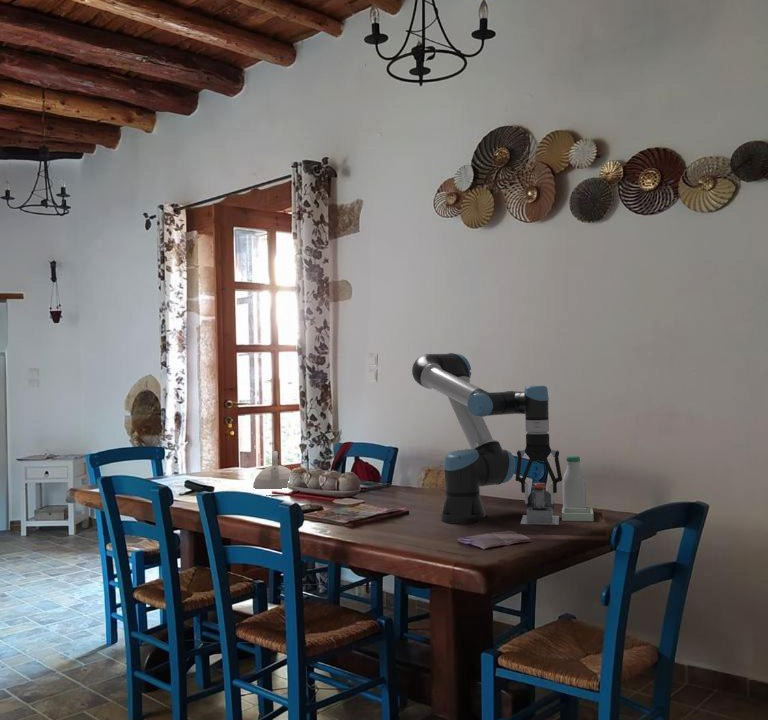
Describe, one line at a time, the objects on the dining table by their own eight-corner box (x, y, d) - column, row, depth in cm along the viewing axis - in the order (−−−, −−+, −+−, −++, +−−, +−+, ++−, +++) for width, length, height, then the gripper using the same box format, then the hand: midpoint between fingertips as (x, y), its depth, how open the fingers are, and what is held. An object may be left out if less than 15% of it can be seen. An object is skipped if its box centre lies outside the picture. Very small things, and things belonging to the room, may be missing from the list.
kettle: (250, 497, 334) (249, 454, 335) (254, 489, 355) (253, 449, 355) (299, 495, 336) (298, 452, 336) (300, 488, 357) (299, 447, 357)
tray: (562, 524, 261) (561, 513, 261) (562, 518, 271) (562, 507, 271) (593, 524, 259) (593, 513, 259) (592, 519, 268) (592, 508, 268)
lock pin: (533, 522, 259) (532, 484, 259) (533, 519, 263) (532, 482, 264) (546, 522, 258) (545, 484, 259) (546, 520, 262) (545, 482, 263)
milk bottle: (586, 516, 273) (584, 457, 273) (563, 516, 275) (561, 457, 275) (585, 512, 281) (583, 455, 281) (563, 512, 282) (561, 455, 283)
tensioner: (520, 527, 257) (519, 495, 257) (523, 518, 272) (522, 488, 272) (558, 528, 255) (557, 496, 255) (559, 519, 269) (558, 488, 269)
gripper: (505, 434, 260) (506, 504, 260) (569, 433, 255) (571, 505, 255) (506, 432, 267) (508, 500, 267) (569, 431, 263) (571, 501, 262)
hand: (539, 502), depth 261 cm, fingers open, 8 cm apart
